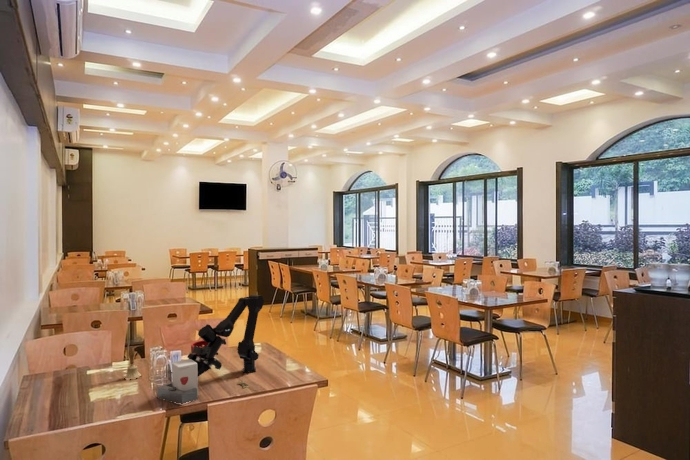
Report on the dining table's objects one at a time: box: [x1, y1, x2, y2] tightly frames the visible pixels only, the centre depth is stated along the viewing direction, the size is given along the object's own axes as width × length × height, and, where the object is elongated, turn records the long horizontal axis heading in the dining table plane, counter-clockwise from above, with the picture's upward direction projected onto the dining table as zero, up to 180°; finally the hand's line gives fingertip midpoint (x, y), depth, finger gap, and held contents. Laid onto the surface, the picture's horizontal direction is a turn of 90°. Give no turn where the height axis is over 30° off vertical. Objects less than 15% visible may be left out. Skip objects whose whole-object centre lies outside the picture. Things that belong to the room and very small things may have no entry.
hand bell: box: [124, 345, 142, 378], centre depth 240 cm, size 8×8×16 cm
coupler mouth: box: [157, 381, 198, 404], centre depth 210 cm, size 8×17×6 cm, turn 56°
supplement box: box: [171, 358, 199, 397], centre depth 213 cm, size 9×9×15 cm
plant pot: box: [190, 339, 216, 358], centre depth 258 cm, size 13×13×12 cm
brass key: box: [237, 380, 249, 389], centre depth 225 cm, size 8×3×1 cm, turn 37°
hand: (194, 377), depth 218 cm, fingers closed
